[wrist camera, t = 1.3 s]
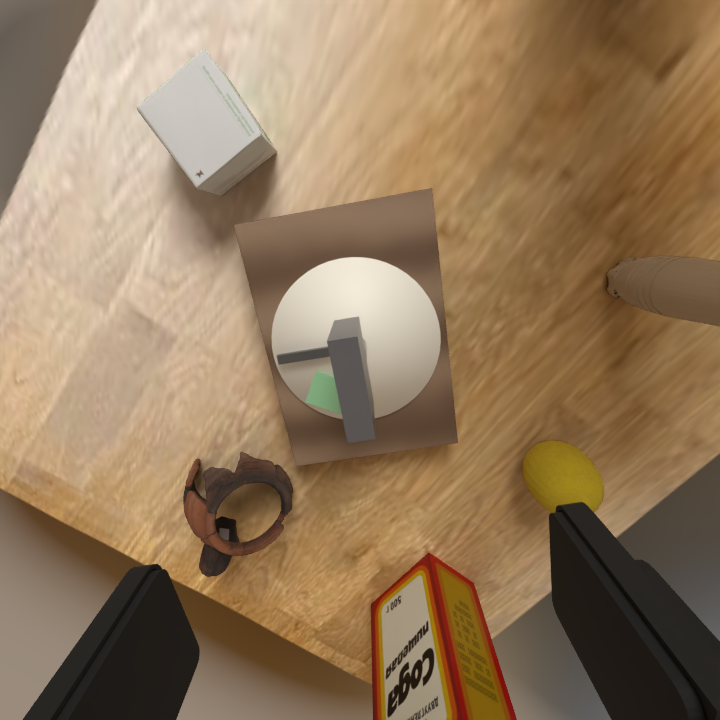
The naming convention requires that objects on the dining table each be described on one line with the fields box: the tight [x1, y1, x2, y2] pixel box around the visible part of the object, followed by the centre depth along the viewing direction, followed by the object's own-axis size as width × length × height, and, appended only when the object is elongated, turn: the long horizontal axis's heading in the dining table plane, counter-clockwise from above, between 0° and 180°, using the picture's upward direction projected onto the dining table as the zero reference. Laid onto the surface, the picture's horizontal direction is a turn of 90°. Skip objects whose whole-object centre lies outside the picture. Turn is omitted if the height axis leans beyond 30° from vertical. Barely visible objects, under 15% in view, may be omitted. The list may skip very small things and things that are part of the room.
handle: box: [607, 256, 720, 326], centre depth 23 cm, size 5×6×15 cm
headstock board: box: [234, 188, 458, 466], centre depth 31 cm, size 20×14×3 cm
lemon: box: [522, 440, 604, 513], centre depth 32 cm, size 6×6×8 cm
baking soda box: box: [371, 553, 517, 720], centre depth 34 cm, size 10×6×16 cm
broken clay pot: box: [183, 452, 293, 577], centre depth 35 cm, size 12×10×8 cm
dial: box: [272, 257, 441, 419], centre depth 29 cm, size 13×13×1 cm
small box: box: [137, 49, 277, 196], centre depth 25 cm, size 6×6×5 cm
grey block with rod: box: [277, 316, 376, 443], centre depth 25 cm, size 6×7×9 cm
